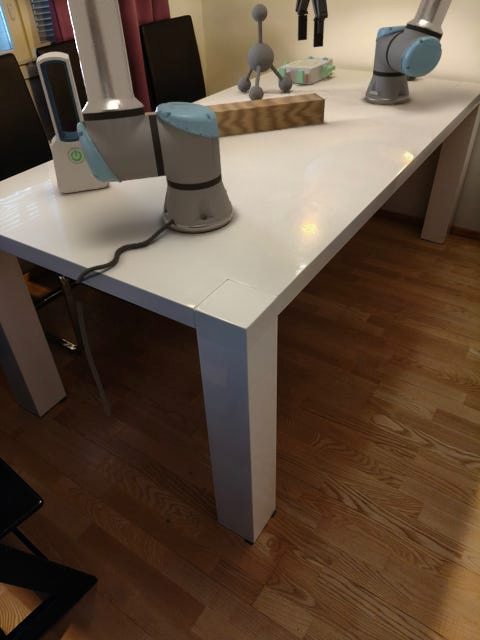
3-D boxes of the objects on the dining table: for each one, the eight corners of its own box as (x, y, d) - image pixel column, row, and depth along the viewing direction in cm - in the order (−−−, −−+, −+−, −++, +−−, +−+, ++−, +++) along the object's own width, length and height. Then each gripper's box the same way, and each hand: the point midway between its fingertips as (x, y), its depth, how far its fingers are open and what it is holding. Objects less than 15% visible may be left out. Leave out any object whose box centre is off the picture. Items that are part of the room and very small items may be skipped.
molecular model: (306, 97, 183) (309, 2, 165) (252, 105, 177) (249, 8, 159) (279, 85, 201) (279, -2, 182) (229, 92, 195) (224, 3, 177)
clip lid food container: (301, 54, 217) (341, 57, 207) (300, 70, 221) (340, 74, 211) (269, 65, 201) (312, 69, 191) (269, 82, 205) (311, 87, 195)
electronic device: (59, 194, 121) (20, 60, 103) (60, 183, 127) (23, 54, 108) (110, 187, 123) (80, 54, 105) (108, 176, 129) (80, 48, 111)
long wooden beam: (118, 149, 146) (113, 124, 142) (117, 141, 153) (112, 116, 148) (323, 123, 157) (325, 99, 152) (314, 116, 164) (315, 93, 159)
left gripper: (115, -31, 115) (132, 68, 127) (112, -33, 134) (127, 54, 147) (83, -29, 113) (103, 71, 126) (84, -31, 133) (101, 56, 146)
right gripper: (343, -46, 124) (338, 48, 137) (309, -47, 143) (307, 36, 156) (315, -44, 123) (312, 51, 136) (285, -45, 142) (285, 38, 155)
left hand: (116, 62), depth 137 cm, fingers open, 13 cm apart
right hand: (309, 43), depth 146 cm, fingers open, 13 cm apart
